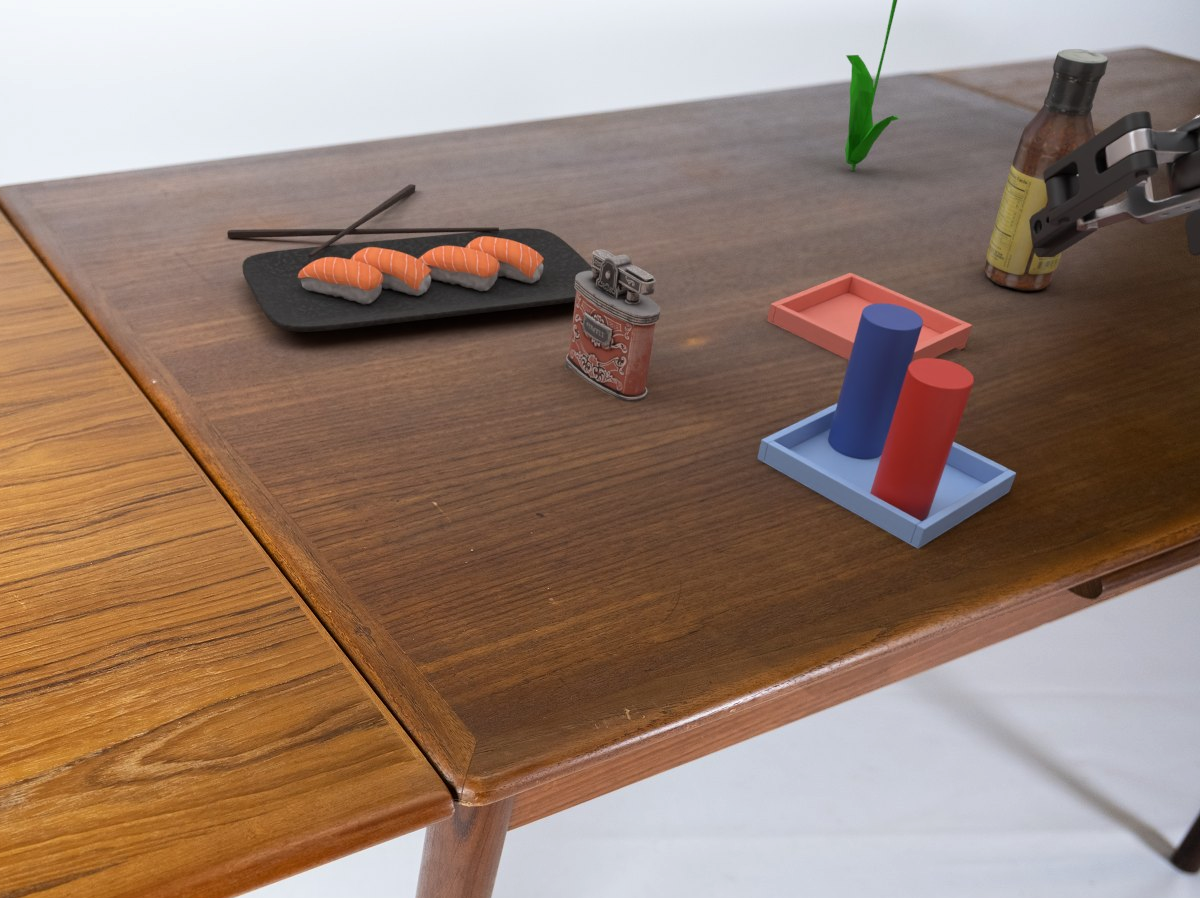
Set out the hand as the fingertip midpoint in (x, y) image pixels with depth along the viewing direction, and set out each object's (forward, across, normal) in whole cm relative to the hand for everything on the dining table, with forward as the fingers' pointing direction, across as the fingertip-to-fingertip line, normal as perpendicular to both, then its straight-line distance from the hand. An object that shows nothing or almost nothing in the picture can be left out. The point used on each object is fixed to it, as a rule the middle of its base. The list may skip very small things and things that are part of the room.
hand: (1116, 238), depth 63 cm
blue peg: (+29, 0, +4) cm, 29 cm away
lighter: (+37, +16, -4) cm, 41 cm away
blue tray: (+27, 0, +7) cm, 28 cm away
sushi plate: (+54, +29, -20) cm, 65 cm away
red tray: (+42, -8, -8) cm, 43 cm away
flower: (+69, -24, -36) cm, 81 cm away
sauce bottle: (+49, -28, -16) cm, 59 cm away
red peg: (+24, 0, +9) cm, 25 cm away
